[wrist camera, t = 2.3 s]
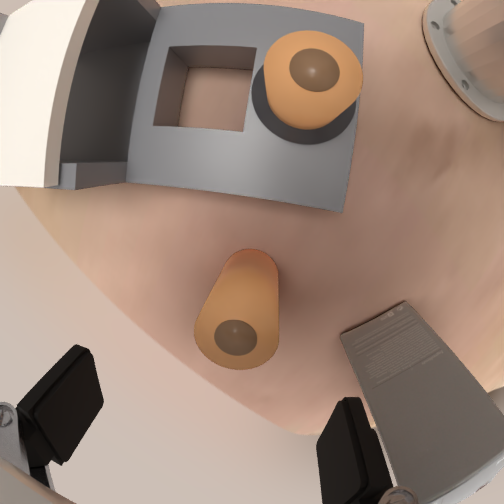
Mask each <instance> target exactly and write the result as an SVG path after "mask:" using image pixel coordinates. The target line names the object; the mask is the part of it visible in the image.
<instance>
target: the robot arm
mask: <svg viewBox="0 0 504 504" xmlns="http://www.w3.org/2000/svg"><path fill="white" fill-rule="evenodd" d="M422 19H423V31H424V35H425V39H426V42H427V44H428V47H429V50H430V52H431V54H432V56H433V58H434V60H435V62H436V64H437V66H438V67H439V69H440V70H441V72H442V74H443V75H444V77H445V78H446V80H447V81H448V82H449V84H450V85H451V86H452V88H453V89H454V90H455V92H456V93H457V94H458V95H459V96H460V97H461V98H462V100H463V101H464V102H466V103H467V104H468V105H469V106H470V107H471V108H472V109H473V110H475V111H476V112H477V113H479V114H480V115H481V116H483V117H485V118H487V119H489V120H492V121H497V122H502V121H504V0H462V1H460V0H433V1H432V2H431V3H430V4H429V5H428V6H427V7H426V9H425V10H424V14H423V18H422ZM103 403H104V399H103V395H102V392H101V388H100V384H99V380H98V376H97V372H96V368H95V362H94V358H93V355H92V354H91V353H90V350H89V349H87V348H85V347H82V346H80V345H77V344H76V345H74V346H73V347H72V348H71V349H70V350H69V351H68V352H67V353H66V354H65V355H64V356H63V357H62V358H61V359H60V360H59V361H58V362H57V363H56V364H55V365H54V366H53V367H52V368H51V369H50V370H49V371H48V372H47V373H46V374H45V375H44V376H43V377H42V378H41V379H40V380H39V381H38V382H37V384H36V385H35V386H34V387H33V388H32V389H31V390H30V391H29V392H28V393H27V394H26V395H25V396H24V398H23V399H22V400H21V401H20V402H19V403H18V404H17V407H16V408H14V407H13V406H12V405H11V404H9V403H6V402H0V504H76V503H74V502H72V501H70V500H69V499H67V498H65V497H63V496H61V495H60V494H58V493H56V492H55V489H54V485H53V482H52V478H51V474H50V470H49V465H48V464H49V462H50V461H51V460H53V461H54V462H56V463H57V464H59V465H61V466H62V464H63V463H64V462H67V461H68V460H69V459H70V457H71V456H72V454H73V452H74V450H75V449H76V447H77V446H78V444H79V442H80V441H81V439H82V438H83V436H84V434H85V433H86V431H87V430H88V428H89V427H90V425H91V423H92V422H93V420H94V419H95V417H96V416H97V414H98V412H99V411H100V409H101V408H102V406H103ZM316 450H317V457H318V467H319V475H320V484H321V493H322V503H323V504H418V497H417V495H416V493H415V492H414V491H413V490H412V489H410V488H408V487H405V486H396V487H393V484H392V481H391V477H390V474H389V471H388V468H387V465H386V461H385V458H384V455H383V452H382V448H381V445H380V442H379V439H378V436H377V433H376V431H375V430H374V429H371V427H370V424H369V421H368V418H367V415H366V412H365V409H364V406H363V403H362V401H361V399H360V398H359V397H344V398H343V400H342V401H338V403H337V405H336V407H335V409H334V411H333V413H332V415H331V417H330V419H329V421H328V423H327V424H326V426H325V428H324V430H323V432H322V434H321V436H320V437H319V439H318V441H317V445H316Z"/></svg>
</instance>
